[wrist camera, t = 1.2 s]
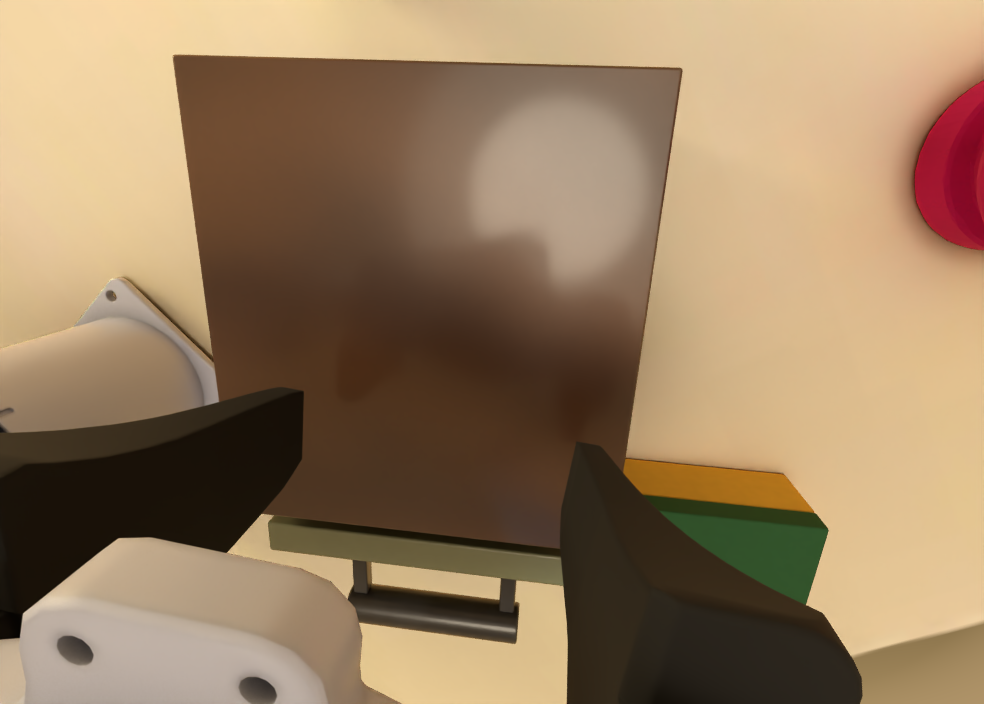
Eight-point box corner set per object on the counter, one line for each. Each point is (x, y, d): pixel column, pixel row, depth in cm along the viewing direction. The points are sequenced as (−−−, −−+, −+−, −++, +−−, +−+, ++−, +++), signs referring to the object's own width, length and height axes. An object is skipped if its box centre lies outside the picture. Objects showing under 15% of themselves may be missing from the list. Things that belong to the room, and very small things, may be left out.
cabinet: (592, 431, 23) (611, 555, 16) (335, 407, 25) (232, 511, 17) (630, 117, 19) (683, 66, 11) (319, 106, 20) (170, 53, 13)
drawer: (565, 564, 25) (569, 692, 19) (347, 538, 26) (280, 650, 20) (606, 204, 20) (631, 211, 13) (329, 189, 21) (229, 190, 14)
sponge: (762, 559, 25) (800, 627, 21) (606, 541, 25) (615, 603, 21) (784, 473, 23) (830, 529, 19) (618, 457, 24) (630, 507, 20)
